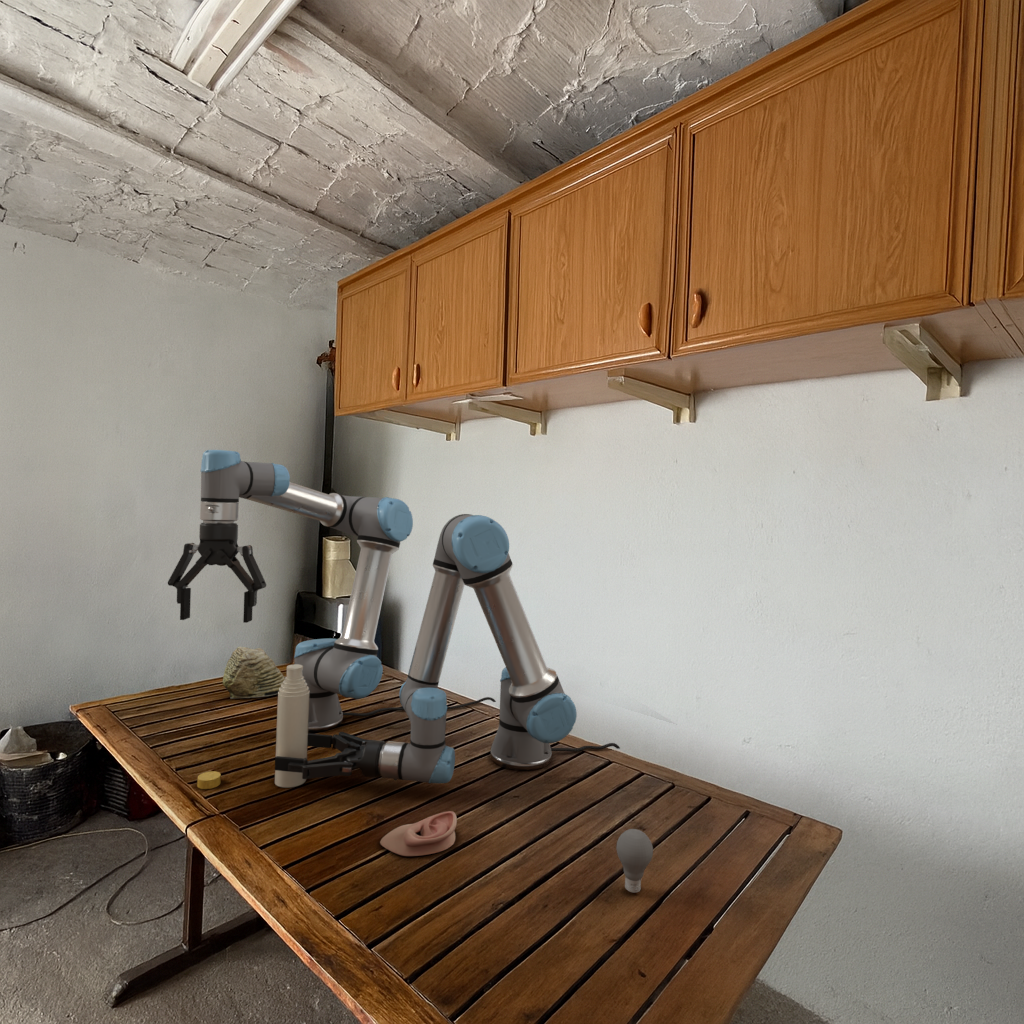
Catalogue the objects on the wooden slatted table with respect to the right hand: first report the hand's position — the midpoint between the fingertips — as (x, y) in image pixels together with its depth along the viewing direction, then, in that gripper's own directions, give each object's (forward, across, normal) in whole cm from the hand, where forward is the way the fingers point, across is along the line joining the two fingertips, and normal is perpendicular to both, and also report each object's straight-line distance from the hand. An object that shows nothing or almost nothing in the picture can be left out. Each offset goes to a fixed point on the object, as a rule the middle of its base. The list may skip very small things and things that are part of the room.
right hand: (290, 750), depth 140 cm
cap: (+16, -5, -5) cm, 17 cm away
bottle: (0, 0, -7) cm, 7 cm away
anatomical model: (-34, -19, -7) cm, 40 cm away
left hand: (+16, -5, +29) cm, 33 cm away
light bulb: (-73, -27, -7) cm, 78 cm away
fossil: (+38, +54, -7) cm, 66 cm away
